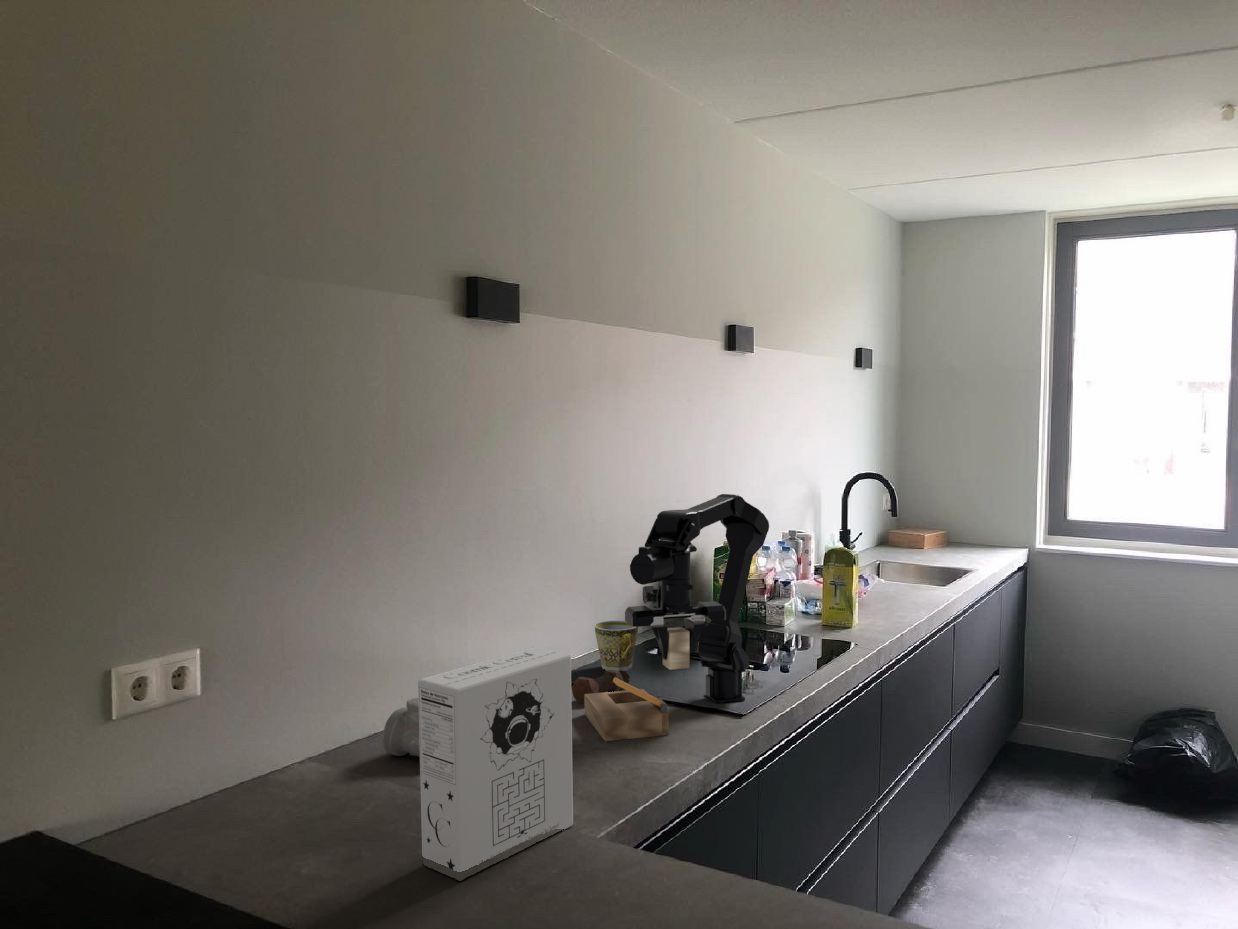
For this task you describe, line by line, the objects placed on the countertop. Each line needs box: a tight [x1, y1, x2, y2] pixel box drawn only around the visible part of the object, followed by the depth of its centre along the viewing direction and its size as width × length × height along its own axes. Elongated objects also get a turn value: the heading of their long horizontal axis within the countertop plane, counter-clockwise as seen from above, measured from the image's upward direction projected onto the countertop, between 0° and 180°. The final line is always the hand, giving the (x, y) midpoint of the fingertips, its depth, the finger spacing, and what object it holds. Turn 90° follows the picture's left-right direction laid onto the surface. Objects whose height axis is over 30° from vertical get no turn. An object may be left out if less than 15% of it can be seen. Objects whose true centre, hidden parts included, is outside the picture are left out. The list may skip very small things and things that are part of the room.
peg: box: [662, 626, 690, 671], centre depth 188 cm, size 4×4×7 cm
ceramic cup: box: [594, 619, 639, 672], centre depth 223 cm, size 13×10×10 cm
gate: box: [613, 677, 666, 708], centre depth 181 cm, size 11×3×1 cm, turn 106°
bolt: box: [571, 670, 631, 705], centre depth 205 cm, size 6×5×15 cm
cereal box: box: [417, 646, 574, 872], centre depth 134 cm, size 22×8×25 cm, turn 141°
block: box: [583, 688, 670, 742], centre depth 185 cm, size 12×16×5 cm
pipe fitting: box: [381, 697, 420, 758], centre depth 168 cm, size 12×8×10 cm
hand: (675, 658), depth 188 cm, fingers closed on peg, 4 cm apart
